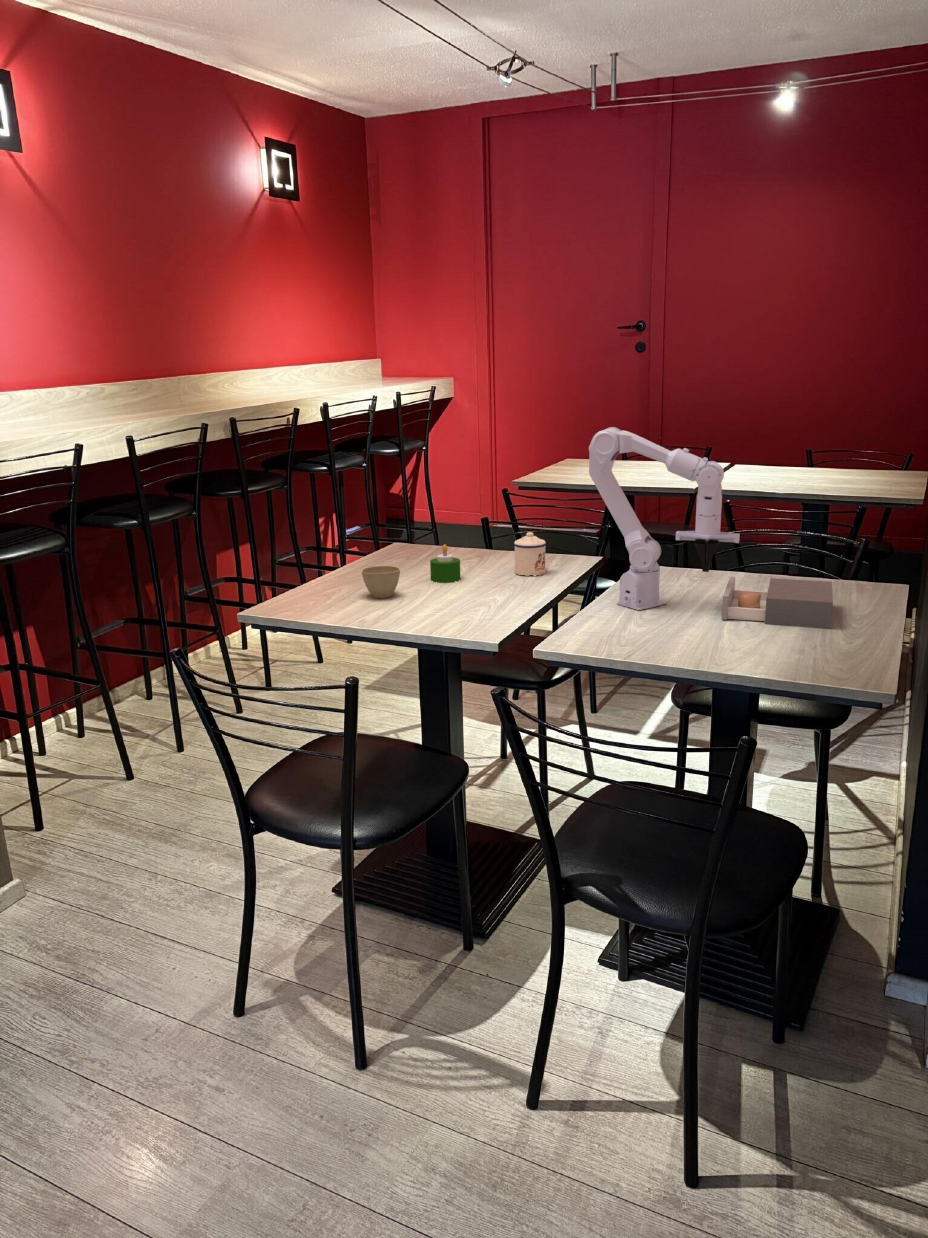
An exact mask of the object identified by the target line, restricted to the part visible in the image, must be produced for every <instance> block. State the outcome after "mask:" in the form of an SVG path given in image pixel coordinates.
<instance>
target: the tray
mask: <svg viewBox="0 0 928 1238" xmlns="http://www.w3.org/2000/svg"><path fill="white" fill-rule="evenodd" d="M735 587H736V577H735V576H730V577H729V579H728V582H727V583H726V587H725V589H724V592H723V594H722V605H721V606H722V607H721V620H728V619H730V620H732V619H733V620H743V621H753V622H754V621H757V622H765V610H766V597H767V593H768V591H764V590H763V591H761V590H752V591H753V592H758V593H760V594H761V599H760V609H756V608H741V607H738V598H739V592H743V591H750V590H747V589H746V590H745V589H736V588H735Z"/></svg>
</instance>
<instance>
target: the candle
mask: <svg viewBox="0 0 928 1238" xmlns="http://www.w3.org/2000/svg"><path fill="white" fill-rule="evenodd" d="M441 549H442V550H441V551H442V553H441V554H439V555H437V556H436V558H432V559H430V561H429V567H430V571H429V572H430V581H431V582H432V581H433V582H432V583H436V582H437V584H451V583H456V582H455V581H457V582H459V580H460V581H461V559H460V558H457V557H453V554H448V552H447V551H448V546H447V544H445V543H444V544H443V545H442V548H441Z"/></svg>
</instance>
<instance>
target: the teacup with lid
mask: <svg viewBox="0 0 928 1238" xmlns="http://www.w3.org/2000/svg"><path fill="white" fill-rule="evenodd" d="M546 545H547V542H546V541H545V539H541V538H539V537H537V536H536V535H534V533H533V532H531V531H529V532H527V533H526V535H525V536H522V537H521V538H518V539H517V540H515V541H514V543H513V546H514V574H515V575H517V574H518V576H520V575H528V576H527V577H530V576H529V575H539V576H542V575H541V574H543V575H545V573H546Z"/></svg>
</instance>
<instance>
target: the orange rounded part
mask: <svg viewBox="0 0 928 1238" xmlns="http://www.w3.org/2000/svg"><path fill="white" fill-rule="evenodd" d="M753 591H754V590H749V591H743V592H739V598H738V607H741V608H756V609H760V599H761V594H760V593H758V592H753Z"/></svg>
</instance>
